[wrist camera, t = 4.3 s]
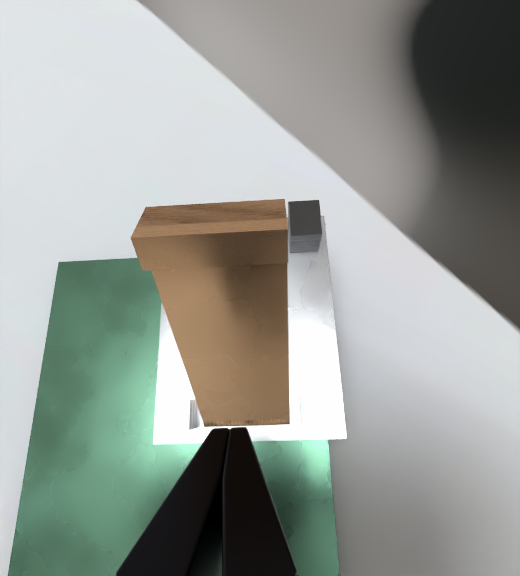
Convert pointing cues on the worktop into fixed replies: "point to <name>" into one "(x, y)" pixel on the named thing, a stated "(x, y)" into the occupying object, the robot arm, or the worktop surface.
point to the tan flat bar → (225, 303)
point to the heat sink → (166, 417)
